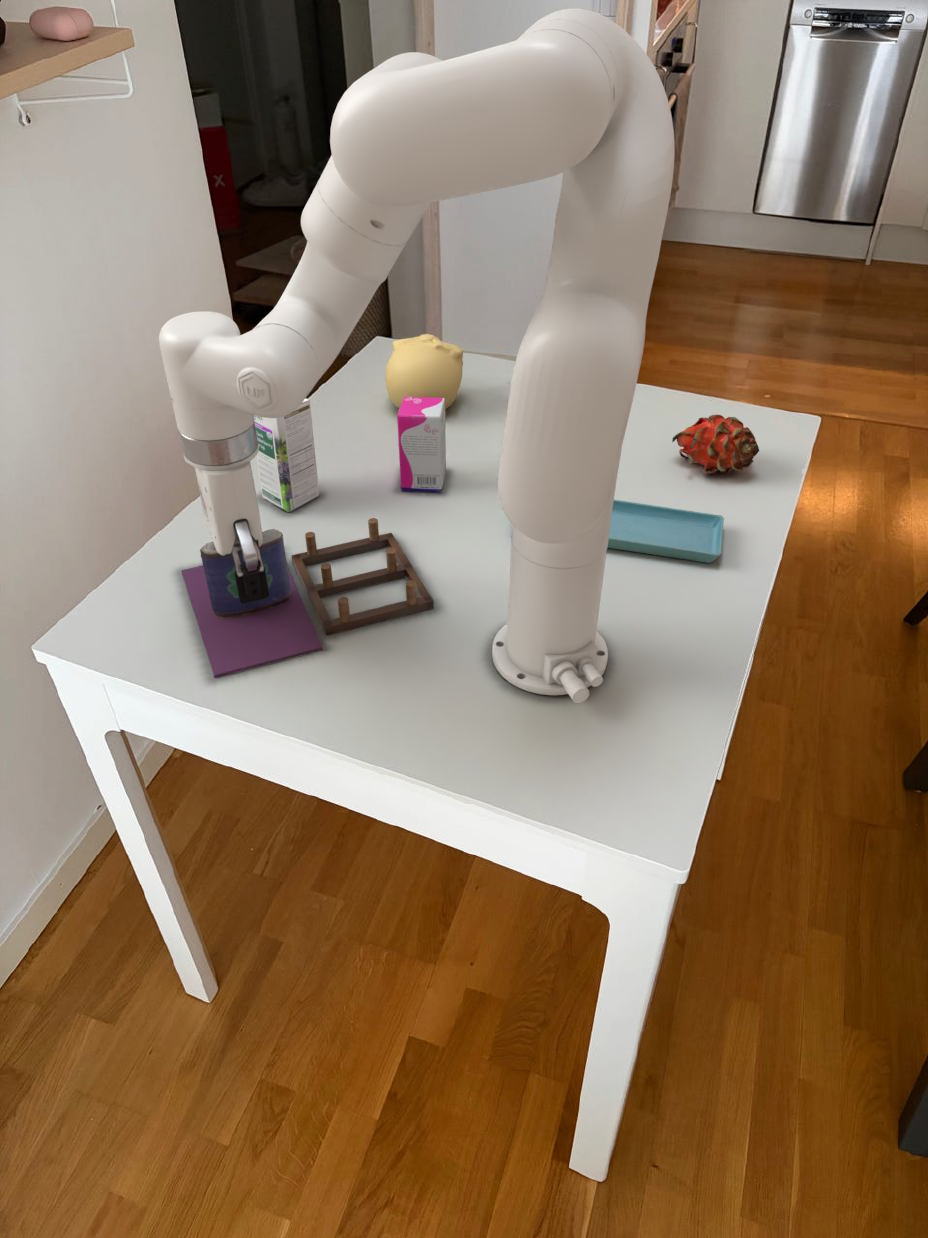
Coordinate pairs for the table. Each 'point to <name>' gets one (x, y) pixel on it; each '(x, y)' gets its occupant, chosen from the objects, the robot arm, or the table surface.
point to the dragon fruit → (718, 444)
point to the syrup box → (287, 458)
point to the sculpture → (424, 369)
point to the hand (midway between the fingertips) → (244, 574)
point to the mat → (250, 630)
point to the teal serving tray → (665, 531)
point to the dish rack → (360, 581)
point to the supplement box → (422, 444)
